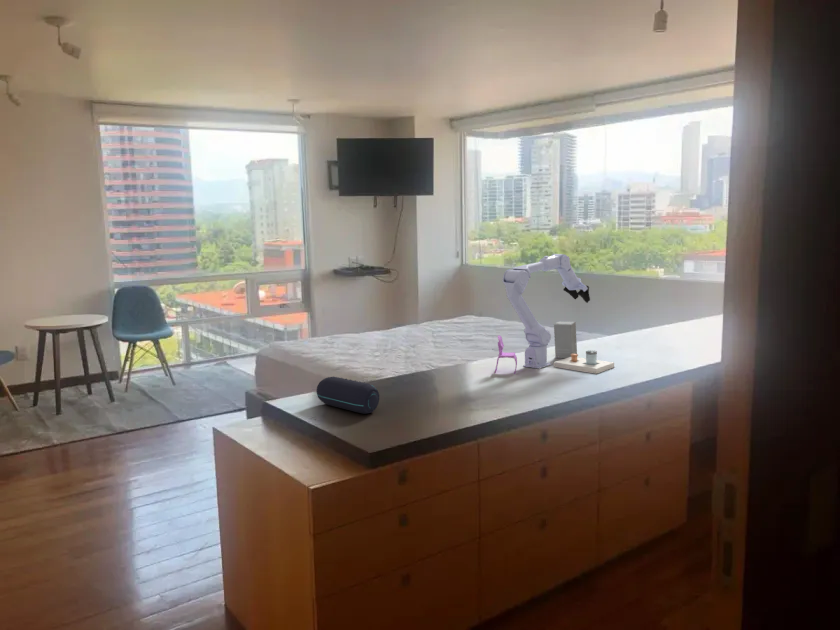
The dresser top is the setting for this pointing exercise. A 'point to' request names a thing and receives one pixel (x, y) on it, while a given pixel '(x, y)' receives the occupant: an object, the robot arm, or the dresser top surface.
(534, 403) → the dresser top surface
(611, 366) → the housing
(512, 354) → the toy chair
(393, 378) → the dresser top surface
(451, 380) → the dresser top surface
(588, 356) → the cup
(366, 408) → the portable speaker
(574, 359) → the tan round piece
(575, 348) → the skincare box
